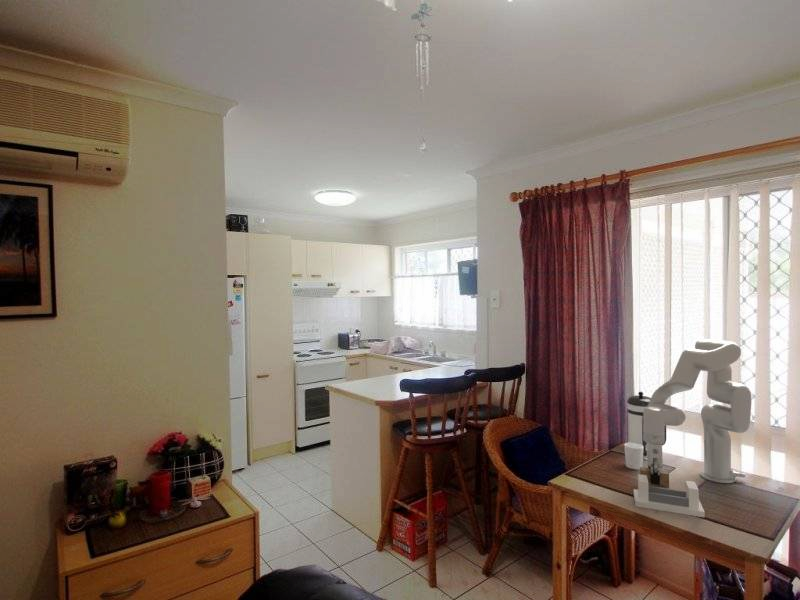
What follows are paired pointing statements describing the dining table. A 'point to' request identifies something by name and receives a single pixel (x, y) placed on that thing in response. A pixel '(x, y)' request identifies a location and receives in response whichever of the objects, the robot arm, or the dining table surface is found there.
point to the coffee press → (637, 419)
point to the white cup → (633, 455)
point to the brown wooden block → (663, 477)
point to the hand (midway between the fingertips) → (653, 479)
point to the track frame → (669, 498)
